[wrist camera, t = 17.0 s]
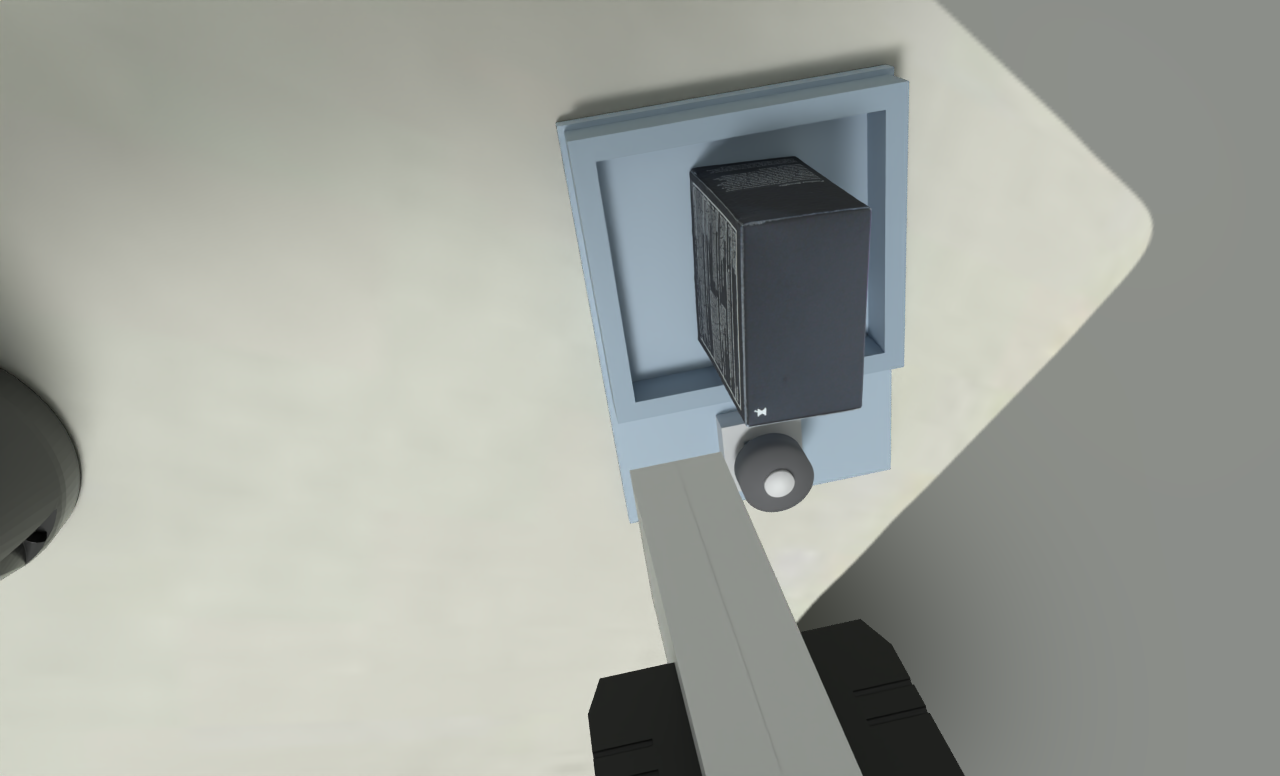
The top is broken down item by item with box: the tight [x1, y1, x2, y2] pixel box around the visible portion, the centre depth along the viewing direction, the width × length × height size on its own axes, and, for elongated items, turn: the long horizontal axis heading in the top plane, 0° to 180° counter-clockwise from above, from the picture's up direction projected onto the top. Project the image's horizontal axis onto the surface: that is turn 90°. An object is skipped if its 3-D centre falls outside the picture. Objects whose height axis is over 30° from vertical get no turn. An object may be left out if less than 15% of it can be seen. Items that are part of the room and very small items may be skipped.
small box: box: [689, 156, 872, 428], centre depth 43 cm, size 11×6×10 cm, turn 5°
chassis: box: [556, 64, 909, 523], centre depth 49 cm, size 18×26×4 cm
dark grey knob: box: [734, 433, 814, 512], centre depth 51 cm, size 4×4×4 cm
